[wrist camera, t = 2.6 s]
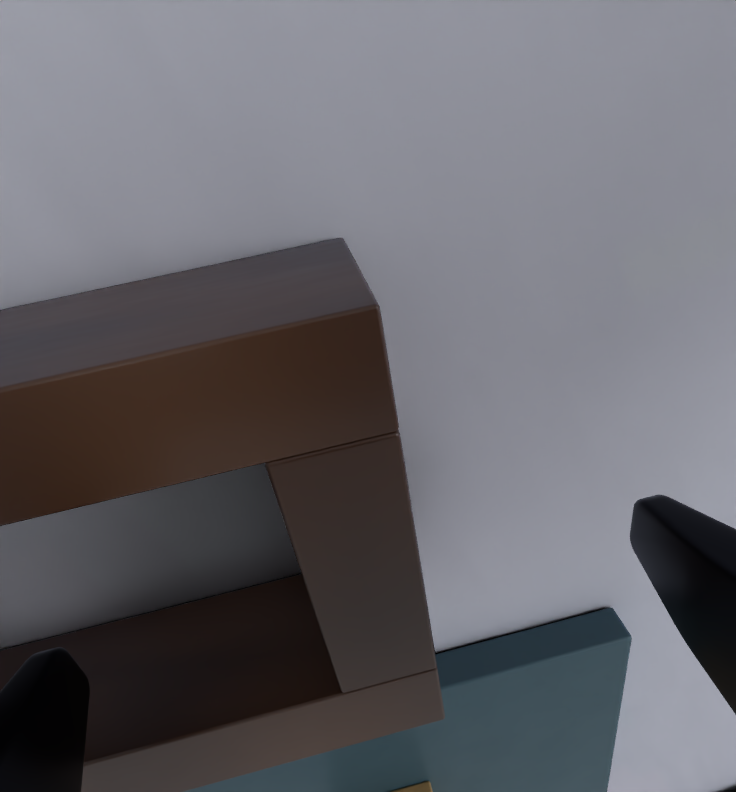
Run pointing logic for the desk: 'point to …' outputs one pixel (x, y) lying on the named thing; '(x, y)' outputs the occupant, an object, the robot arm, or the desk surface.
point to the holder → (491, 722)
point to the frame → (213, 454)
